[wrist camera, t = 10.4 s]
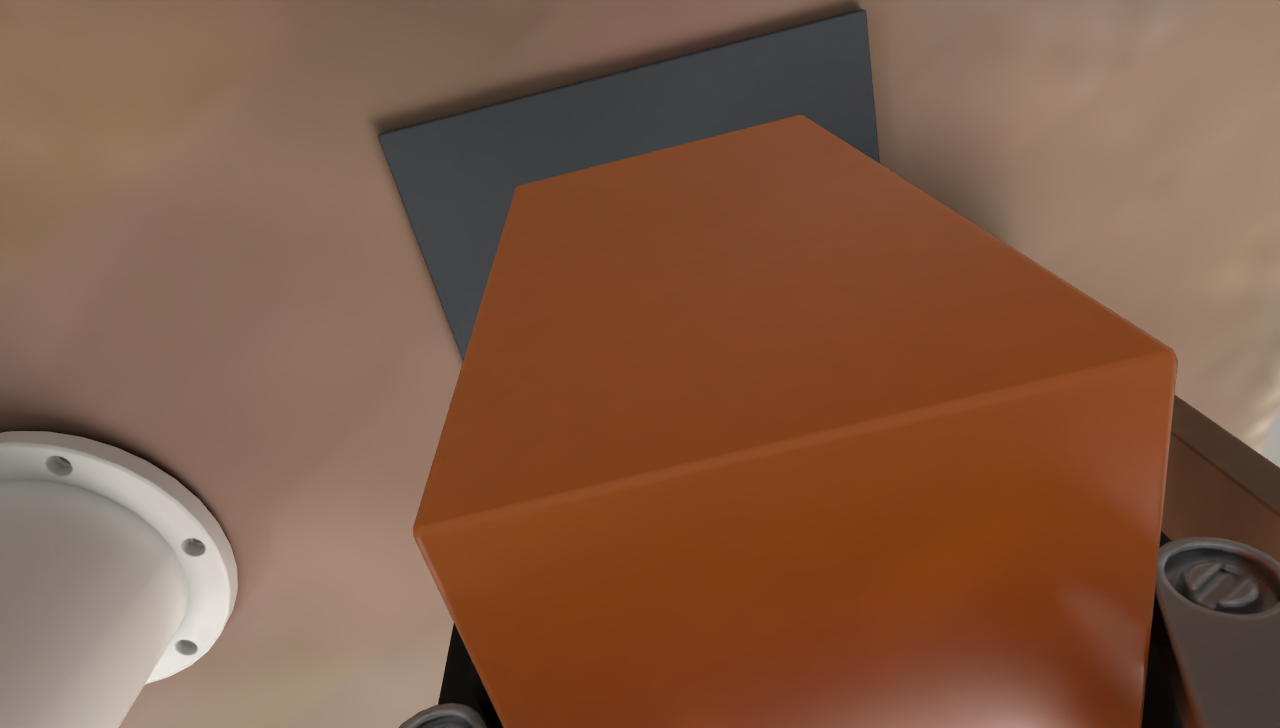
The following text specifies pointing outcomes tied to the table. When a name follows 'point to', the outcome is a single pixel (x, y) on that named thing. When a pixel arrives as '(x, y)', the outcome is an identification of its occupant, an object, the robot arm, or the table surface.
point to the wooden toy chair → (1219, 485)
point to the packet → (794, 458)
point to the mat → (614, 136)
